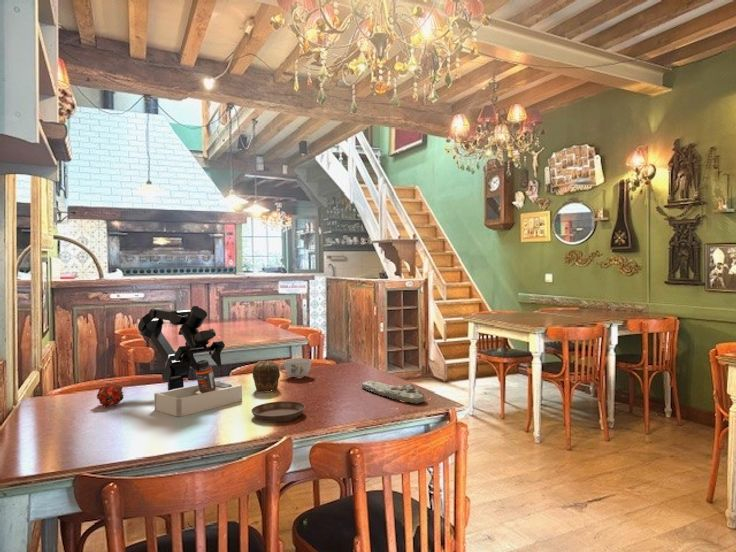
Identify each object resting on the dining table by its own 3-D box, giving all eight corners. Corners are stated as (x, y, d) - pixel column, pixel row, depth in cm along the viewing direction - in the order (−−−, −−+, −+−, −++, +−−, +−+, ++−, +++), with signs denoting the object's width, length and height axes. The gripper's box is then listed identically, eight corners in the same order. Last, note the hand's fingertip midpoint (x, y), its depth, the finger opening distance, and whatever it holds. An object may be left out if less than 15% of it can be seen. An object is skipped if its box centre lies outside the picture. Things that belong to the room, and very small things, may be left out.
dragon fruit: (114, 404, 190) (111, 417, 179) (93, 394, 187) (89, 406, 176) (128, 386, 191) (126, 398, 180) (108, 375, 188) (104, 386, 177)
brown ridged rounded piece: (247, 392, 200) (247, 362, 200) (260, 386, 211) (259, 358, 211) (273, 394, 197) (272, 363, 197) (284, 387, 208) (283, 358, 208)
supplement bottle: (196, 394, 182) (190, 365, 180) (203, 387, 188) (197, 359, 186) (212, 392, 182) (206, 363, 180) (218, 386, 188) (213, 357, 186)
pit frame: (154, 409, 176) (154, 393, 176) (217, 394, 197) (217, 380, 197) (178, 417, 167) (178, 399, 167) (242, 400, 188) (241, 385, 188)
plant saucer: (243, 424, 159) (243, 414, 159) (262, 408, 177) (262, 400, 177) (296, 425, 157) (296, 416, 157) (310, 410, 175) (310, 401, 175)
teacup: (309, 373, 236) (309, 356, 236) (314, 379, 224) (314, 361, 224) (277, 376, 232) (277, 358, 232) (280, 381, 220) (280, 363, 220)
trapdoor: (195, 399, 188) (193, 392, 187) (215, 387, 194) (212, 380, 193) (214, 404, 180) (212, 397, 179) (234, 391, 187) (232, 384, 186)
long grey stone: (375, 389, 210) (355, 394, 204) (373, 376, 210) (354, 381, 204) (432, 401, 182) (412, 407, 176) (431, 386, 182) (410, 392, 176)
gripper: (178, 324, 180) (196, 358, 173) (222, 320, 194) (240, 350, 188) (166, 344, 185) (183, 377, 178) (210, 338, 199) (227, 369, 193)
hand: (209, 368), depth 184 cm, fingers open, 9 cm apart
